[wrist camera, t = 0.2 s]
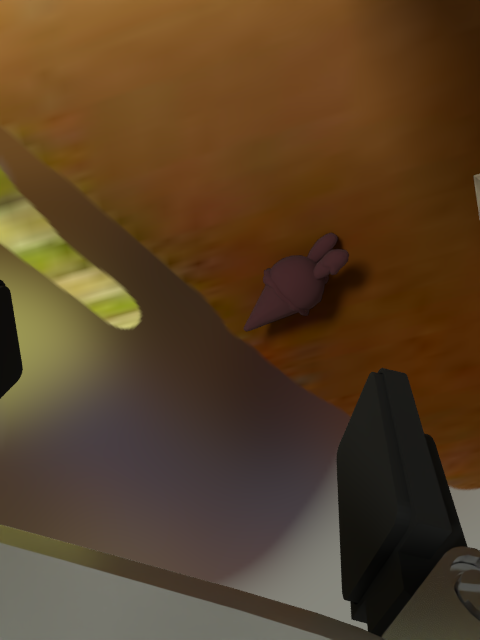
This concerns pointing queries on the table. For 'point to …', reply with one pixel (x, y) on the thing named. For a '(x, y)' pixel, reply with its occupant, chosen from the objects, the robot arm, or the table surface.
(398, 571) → the robot arm
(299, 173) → the table surface
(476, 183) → the beige long block
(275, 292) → the icecream
